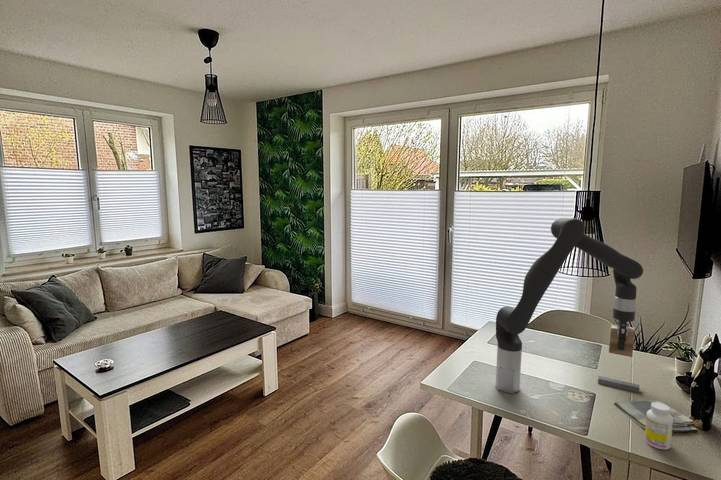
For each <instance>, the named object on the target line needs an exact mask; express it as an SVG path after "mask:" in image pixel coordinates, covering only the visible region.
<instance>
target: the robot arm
mask: <svg viewBox="0 0 721 480" xmlns="http://www.w3.org/2000/svg"><path fill="white" fill-rule="evenodd" d="M585 229H586V226H585V224H584V222H583V221H582V220H581V219H579V218H573V217H562V218H561V217H560V218H557V219H555V220H554V221H553V222H552V224H551V225H550V232H551V235H552V236H553V237H554V238H555V239H556V240H555V242H554V243H553V244H552V246H551V247H550V248H549V249H548V250H546V251H545V252H544V253H543V254H542V255H540V257H538V258H537V259H536V260H535V261H534V262H533V263H532V265H531V266H530V268H529V269H528V271H527V273H526V275H525V277H524V280H523V284H522V285H523V287H522V294H521V297H520V299H519V301H518V303H517V304H516V306H515V307H512V306H507V305H506V306H502V307H501V308H500V309H499V310H498V311H497V313H496V317H495V318H496V319H495V339H496V342H497V348H496V351H497V352H496V368H495V369H496V372H495V387H496V389H497V390H498V391H501V392H504V393H508V394H512V395H513V394H514V393H517V392H519V391H520V389H521V372H522V371H521V369H522V355H523V354H522V353H523V352H522V351H523V343H522V340H521V338H520V336H519V334H521V333H523V332H524V331H525V329H526V328H527V327H528V325H529V323H530V321H531V319H532V317H533V315H534V312H535V311H536V308H537V306H538V305H539V304H540V301H541V300H542V298H543V296H544V295H545V293H546V291H547V290H548V288H549V287H550V285H551V284H552V282H553V281H554V279H555V278H556V275H557V274H558V272H559V271H560V269H561V268H562V266H563V265H564V263H565V261H566V260H567V258H568V257H569V255H570V254H571V252H572V251H573V250H574V248H577V249H579V250H581V251H582V252H585V253H586V254H587V255H589V256H590V257H592V258H593V259H594V260H596V261H598V262H600V263H601V264H602V265H604V266H606V267H608V268H610V269H611V268H612V270H613V272H612V273H613V278H614V284H615V292H614V293H615V295H614V300H613V309H612V318H613V319H614V320H615V321H617V322H616V325H617V328H618V331H617V334H618V335H619V336H618V350H624V346H625V342H626V336H627V333H628V329H629V327H630V325H629V324H630V323H631V322H632V323H633V322H634V321H635V320H636V319H635V318H636V310H637V309H636V308H637V300H636V299H637V290H638V289H637V286H636V284H634V283H633V282H632V281H631V280H637V279H640V277H641V276H643V275H644V268H643V266H642V265H641V263H640V262H638V261H636V260H634V259H632V258H630V257H628V256H627V255H624V254H622V253H620V252H619V251H618V250H616V249H615V248H613V247H612V246H610V245H608V244H607V243H604V242H602V241H600V240H598V239H595V238H593V237H591V236H589V235H587V234H585V231H586V230H585ZM628 322H629V323H628ZM620 337H624V339H623V338H620Z"/></svg>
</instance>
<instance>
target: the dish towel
mask: <svg viewBox="0 0 721 480" xmlns="http://www.w3.org/2000/svg"><path fill="white" fill-rule="evenodd" d="M653 402H659V403H662V404H665V405H667V404H666V403H664V402H662V401H661V400H656V399H655V400H653V399H652V400H651V399H650V400H648V399H647V400H645V399H644V400H628V401H627V400H626V401H623V400H622V401H615V402H613V406H615V407H616V408H617V409H619V410H620V411H621V412H622V413H623V414H624V415H626V416H627V417H628V418H629V419H630V420H632V421H633V422H634V423H635V424H636V425H638V426H639V427H640V428H641V429H642V430H644V431H645V429H646V414H647V411H648V410H650V409H651V403H653ZM667 406H668V407H669V408H670V413H669V414H670V415H671V416H672V418H673V429H672V434H673V433H674V434H689V433H692V434H693V433H696V434H699V433H700V430H699V429H698V428H696V427H694V426H693V425H694V424H695V423H696V422H695V421H694V420H693V419H691V418H689V417H687V416H686V415H684V414H683V413H681V412H679V411H677V410H675V409H674V408H673V407H671V406H669V405H667Z"/></svg>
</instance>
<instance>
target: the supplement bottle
mask: <svg viewBox="0 0 721 480" xmlns="http://www.w3.org/2000/svg"><path fill="white" fill-rule="evenodd" d="M662 403H663V402H662ZM662 403H659V402H653V403H651V409H650V410H648V411H647V414H646V429H645V430H644V431H645V432H644V440H645V442H646V443H647V444H648V445H650V446H651V447H653V448H655V449H659V450H669V449H671V448H672V441H673V433H672V429H673V418H672V416H671V415H670V414H669V413H670V408H669V407H670V406H669V405H667V404H666V403H664V404H662ZM665 404H666V405H665ZM668 406H669V407H668Z"/></svg>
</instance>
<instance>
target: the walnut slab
mask: <svg viewBox="0 0 721 480" xmlns="http://www.w3.org/2000/svg"><path fill="white" fill-rule="evenodd" d="M617 331H618V328H617V324H611V325H610V333H609V345H608V353H610V354H614V355H619V356H624V357H630V358H633V355H634V353H633V352H634V343H635V333H636V332H635V327H630V326H629V329H628V333H627V336H626V342H625V346H624V350H618V336H619V335H618V334H617ZM620 338H623V339H624V337H620Z"/></svg>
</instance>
